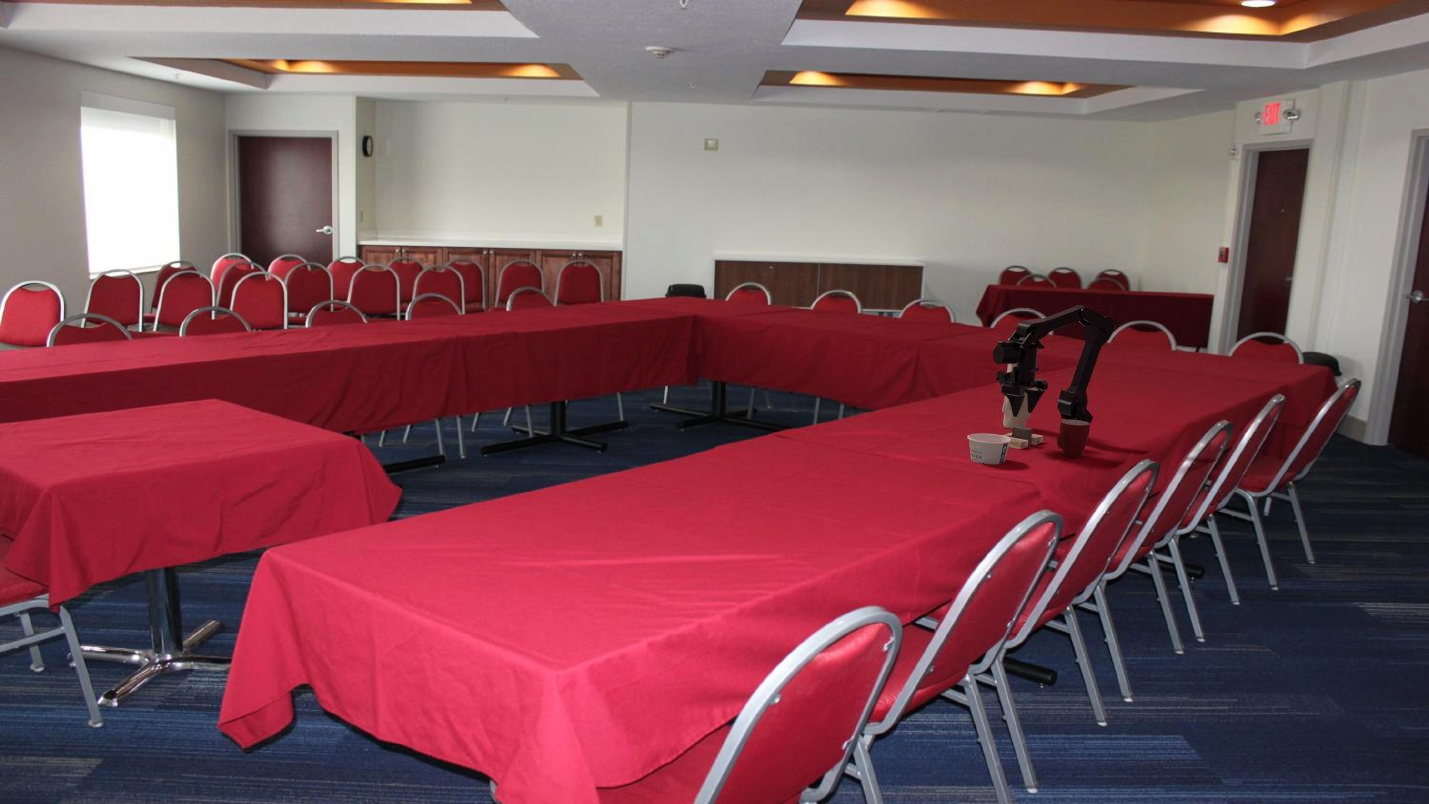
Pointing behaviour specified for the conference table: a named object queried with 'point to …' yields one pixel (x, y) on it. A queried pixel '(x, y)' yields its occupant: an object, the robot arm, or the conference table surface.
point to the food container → (988, 448)
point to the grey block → (1022, 433)
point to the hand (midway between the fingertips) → (1022, 414)
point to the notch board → (1023, 441)
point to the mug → (1073, 437)
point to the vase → (1008, 415)
